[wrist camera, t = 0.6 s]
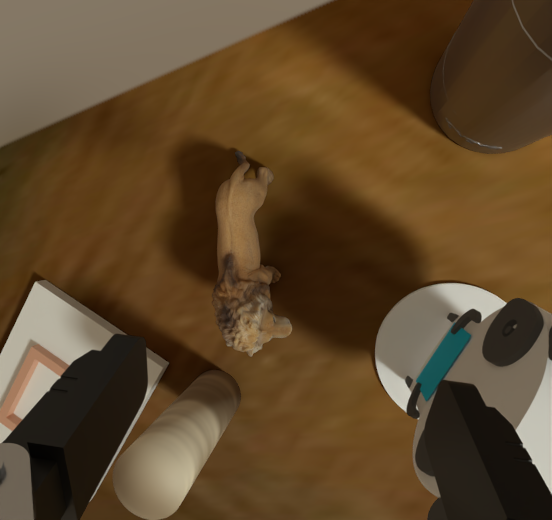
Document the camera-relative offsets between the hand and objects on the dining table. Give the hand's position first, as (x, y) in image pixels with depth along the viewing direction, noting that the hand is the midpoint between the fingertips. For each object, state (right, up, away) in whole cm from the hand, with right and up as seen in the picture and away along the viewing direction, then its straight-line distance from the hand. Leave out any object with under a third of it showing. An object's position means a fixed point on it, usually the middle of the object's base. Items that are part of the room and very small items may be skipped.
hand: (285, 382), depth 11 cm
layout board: (-20, -9, +26) cm, 34 cm away
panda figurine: (+13, -4, +20) cm, 24 cm away
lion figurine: (-1, +5, +22) cm, 22 cm away
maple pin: (-5, -8, +23) cm, 25 cm away
